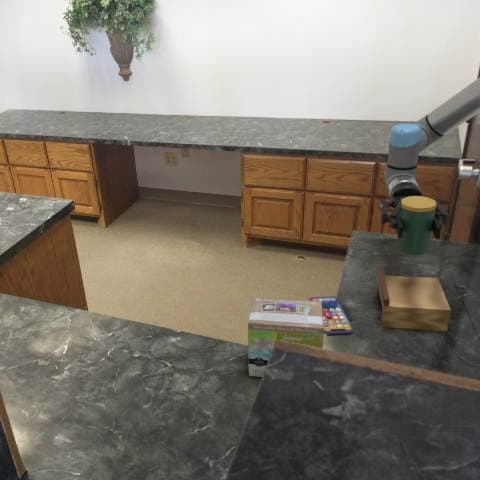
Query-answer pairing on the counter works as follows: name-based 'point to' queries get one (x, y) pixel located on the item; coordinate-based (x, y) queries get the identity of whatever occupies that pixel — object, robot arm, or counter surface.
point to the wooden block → (412, 302)
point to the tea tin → (416, 224)
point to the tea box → (281, 327)
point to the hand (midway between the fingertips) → (419, 232)
